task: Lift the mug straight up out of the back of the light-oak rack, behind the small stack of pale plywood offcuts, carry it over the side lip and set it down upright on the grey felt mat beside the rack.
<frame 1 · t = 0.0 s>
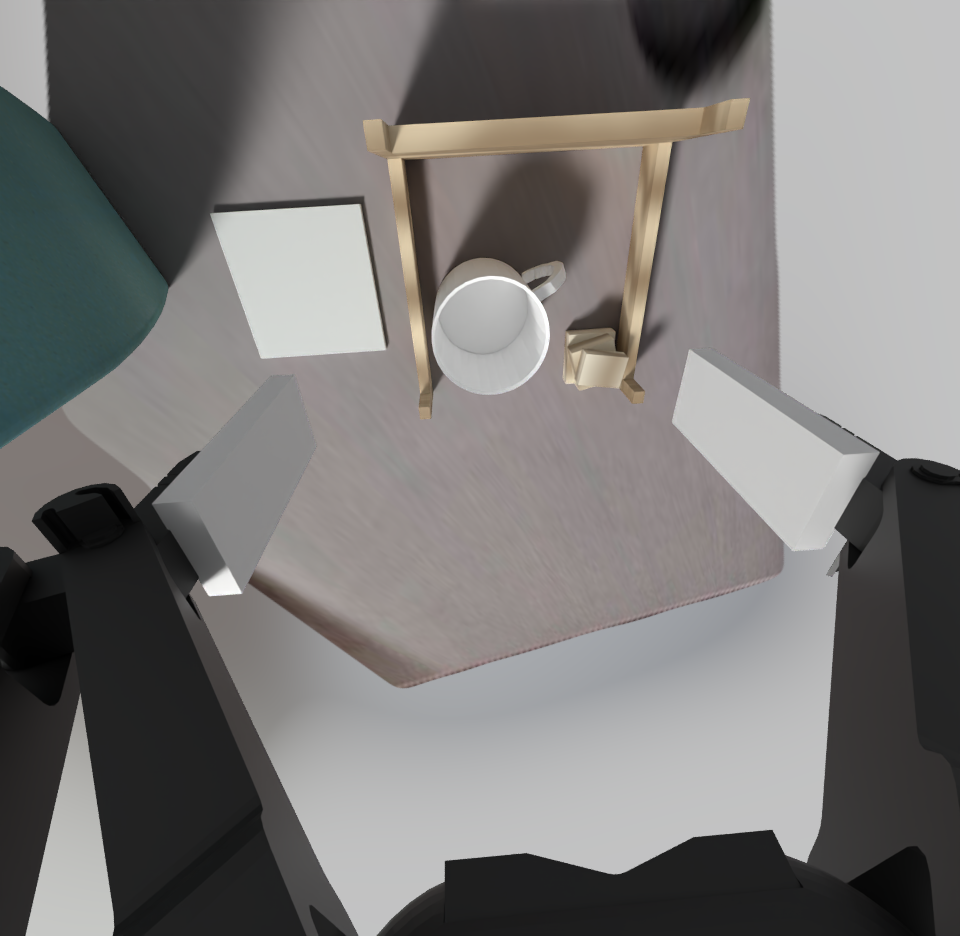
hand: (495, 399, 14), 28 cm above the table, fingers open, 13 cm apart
offcut c: (598, 365, 40), point 3 cm above the table, touching offcut b
rack: (523, 278, 38), on the table
felt mat: (308, 286, 38), on the table
offcut a: (584, 352, 43), on the table, touching offcut b
offcut b: (590, 358, 42), point 1 cm above the table, touching offcut a, offcut c
flower pot: (60, 236, 35), on the table
mug: (496, 302, 40), on the table
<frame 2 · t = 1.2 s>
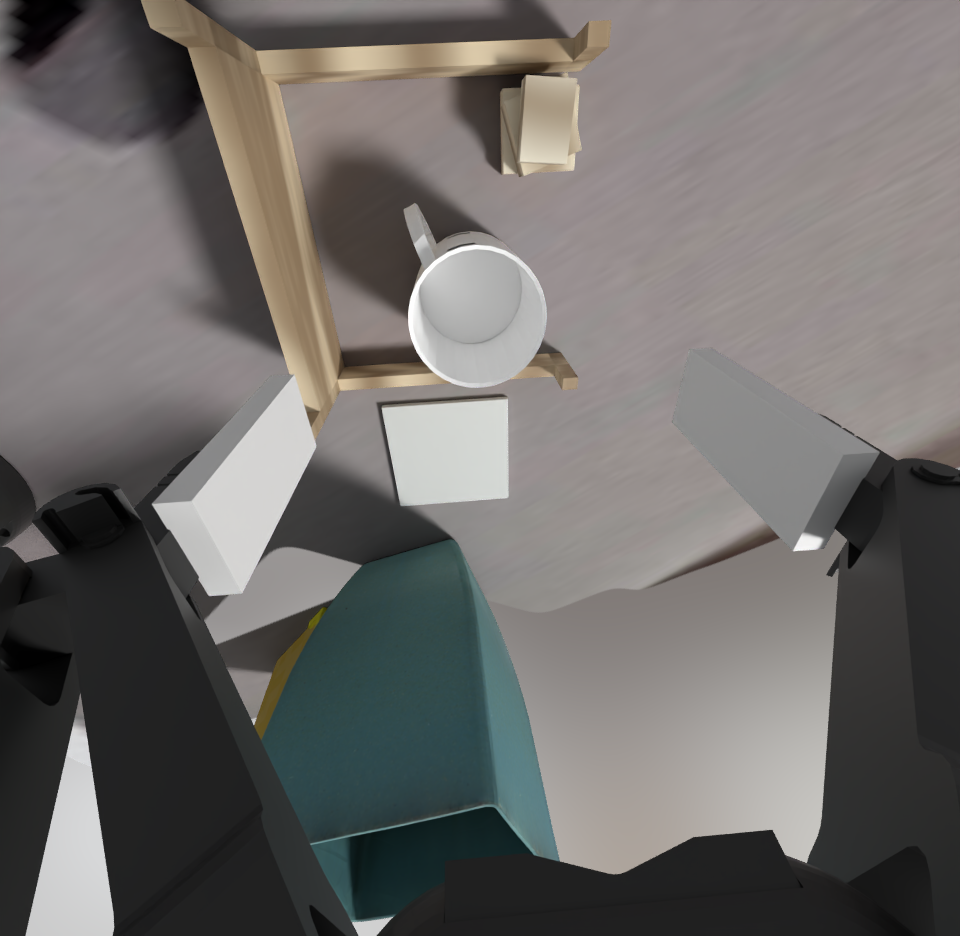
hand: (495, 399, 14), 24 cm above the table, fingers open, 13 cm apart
offcut c: (542, 124, 26), point 3 cm above the table
rack: (435, 242, 33), on the table
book: (315, 645, 61), on the table
felt mat: (450, 453, 44), on the table
offcut a: (534, 134, 30), on the table, touching offcut b
offcut b: (538, 130, 28), point 1 cm above the table, touching offcut a
flower pot: (423, 579, 54), on the table
mug: (463, 274, 34), on the table
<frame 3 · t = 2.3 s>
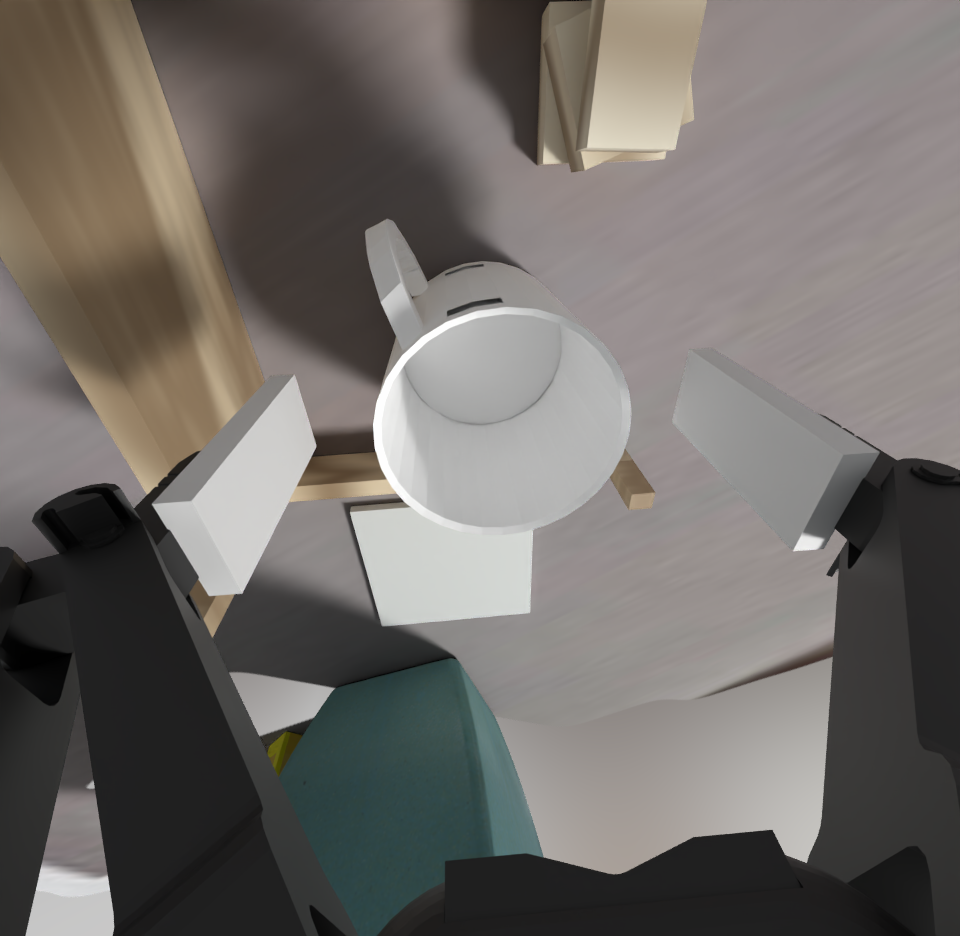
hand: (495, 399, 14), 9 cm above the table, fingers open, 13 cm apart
offcut c: (627, 77, 14), point 3 cm above the table, touching offcut b
rack: (427, 278, 20), on the table
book: (280, 767, 48), on the table
felt mat: (450, 562, 31), on the table
offcut a: (596, 96, 17), on the table, touching offcut b
offcut b: (609, 87, 16), point 1 cm above the table, touching offcut a, offcut c
flower pot: (415, 698, 42), on the table
mug: (470, 326, 22), on the table
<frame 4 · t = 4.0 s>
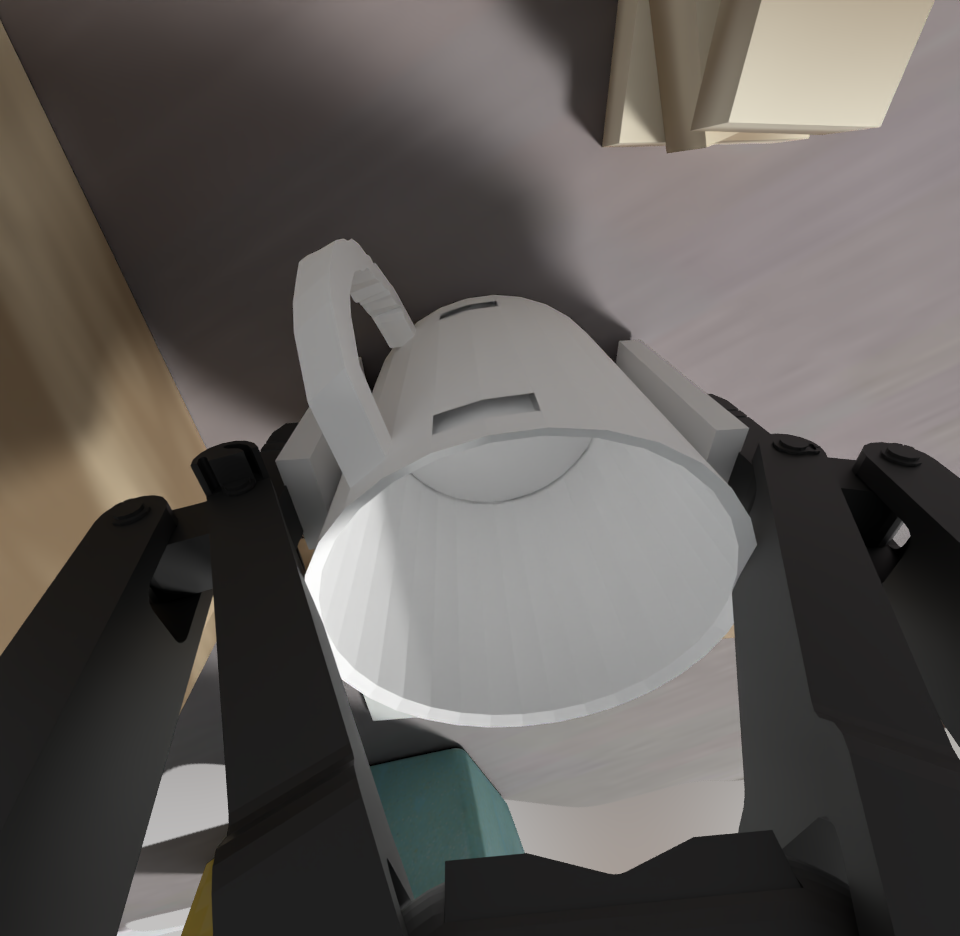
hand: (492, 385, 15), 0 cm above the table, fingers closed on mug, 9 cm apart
rack: (429, 317, 14), on the table
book: (260, 847, 42), on the table
felt mat: (456, 652, 25), on the table
offcut a: (699, 40, 11), on the table, touching offcut b
offcut b: (742, 9, 9), point 1 cm above the table, touching offcut a, offcut c
flower pot: (414, 783, 36), on the table
mug: (477, 380, 16), on the table, touching gripper
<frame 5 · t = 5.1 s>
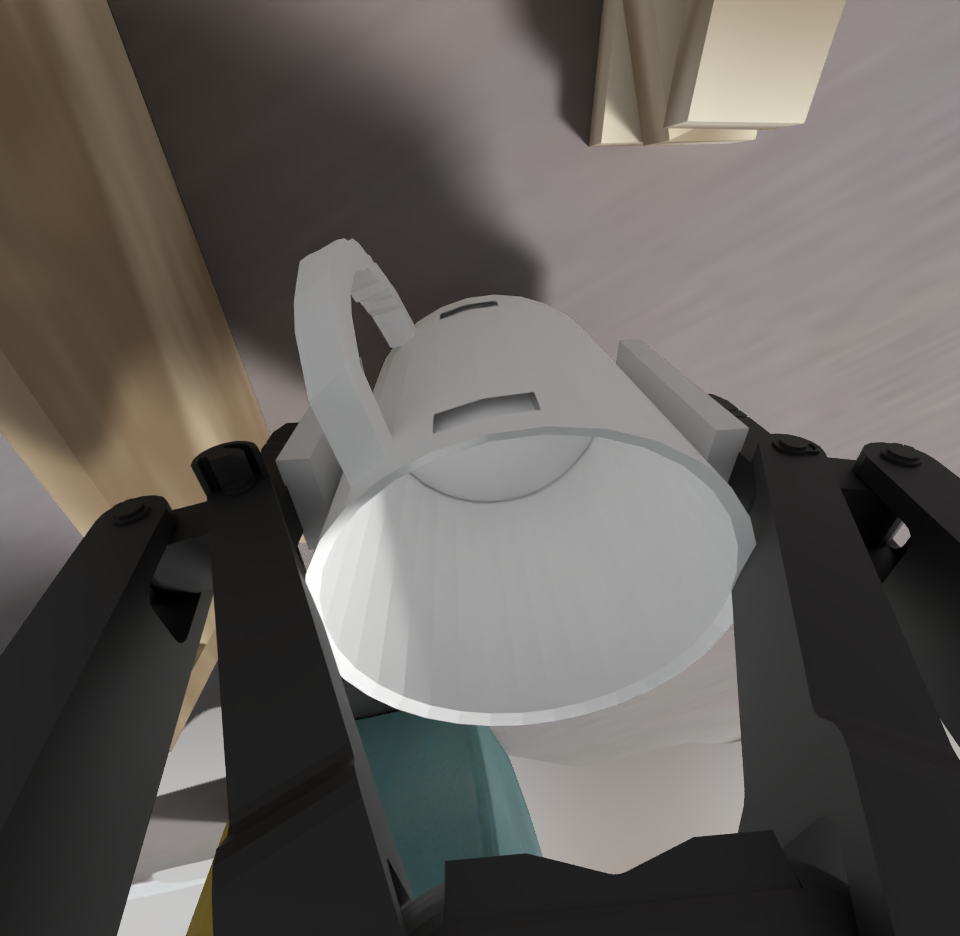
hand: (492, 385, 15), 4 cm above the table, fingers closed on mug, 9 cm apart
offcut c: (740, 27, 11), point 3 cm above the table
rack: (447, 292, 17), on the table
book: (280, 797, 45), on the table
offcut a: (668, 60, 14), on the table
offcut b: (700, 31, 12), point 1 cm above the table, touching rack
flower pot: (424, 735, 39), on the table
mug: (477, 380, 16), point 3 cm above the table, touching gripper
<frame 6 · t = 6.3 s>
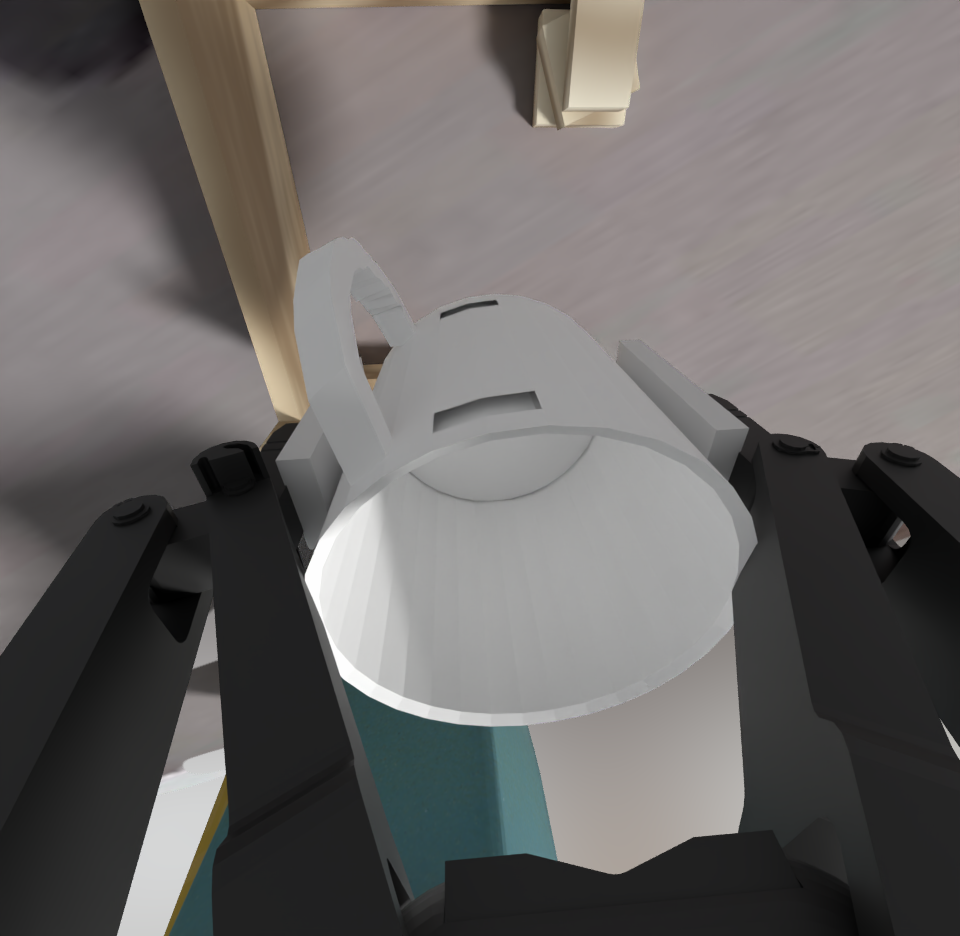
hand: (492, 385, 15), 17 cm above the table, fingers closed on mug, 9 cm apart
offcut c: (596, 59, 21), point 3 cm above the table
rack: (447, 218, 27), on the table
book: (302, 671, 55), on the table
offcut a: (576, 78, 24), on the table, touching offcut b
offcut b: (582, 68, 22), point 1 cm above the table, touching offcut a
flower pot: (423, 604, 49), on the table
mug: (477, 380, 16), point 17 cm above the table, touching gripper
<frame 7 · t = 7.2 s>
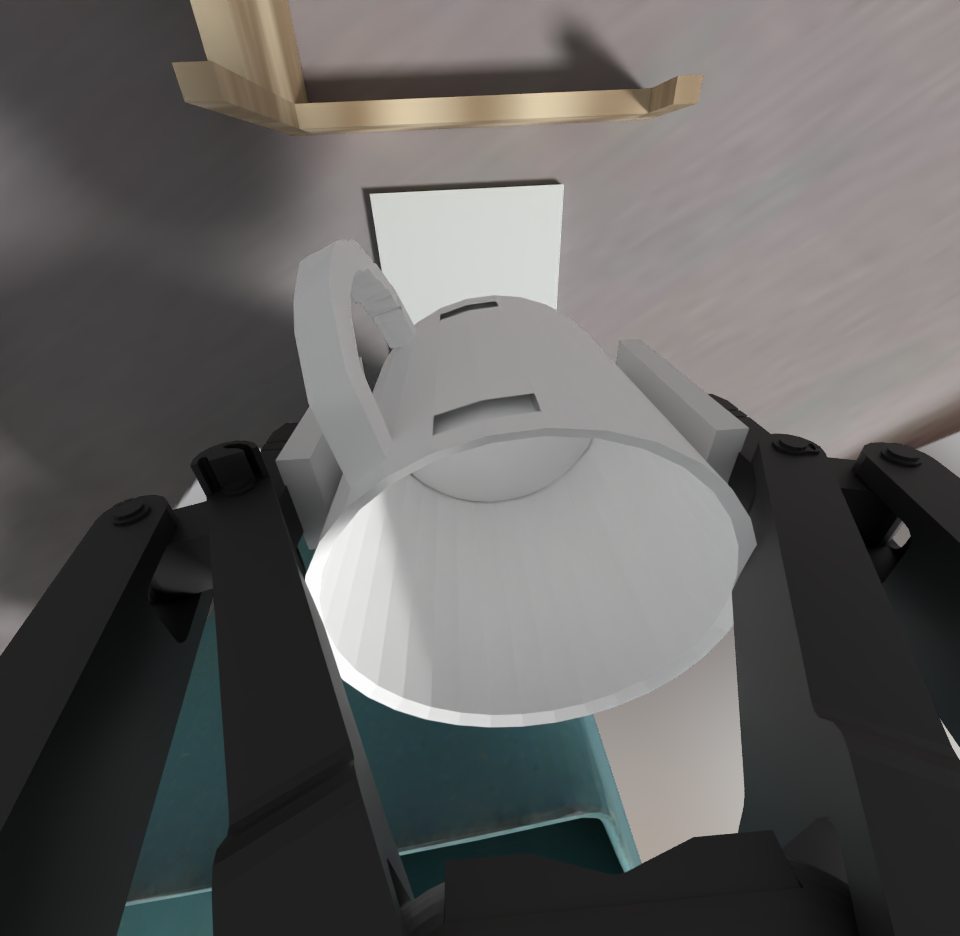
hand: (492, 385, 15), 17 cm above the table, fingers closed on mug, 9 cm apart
felt mat: (471, 290, 30), on the table
flower pot: (430, 502, 40), on the table
mug: (477, 381, 16), point 17 cm above the table, touching gripper
when the fingers open (2 cm above the table, at t = 10.3 s): mug drops 2 cm, resting on felt mat.
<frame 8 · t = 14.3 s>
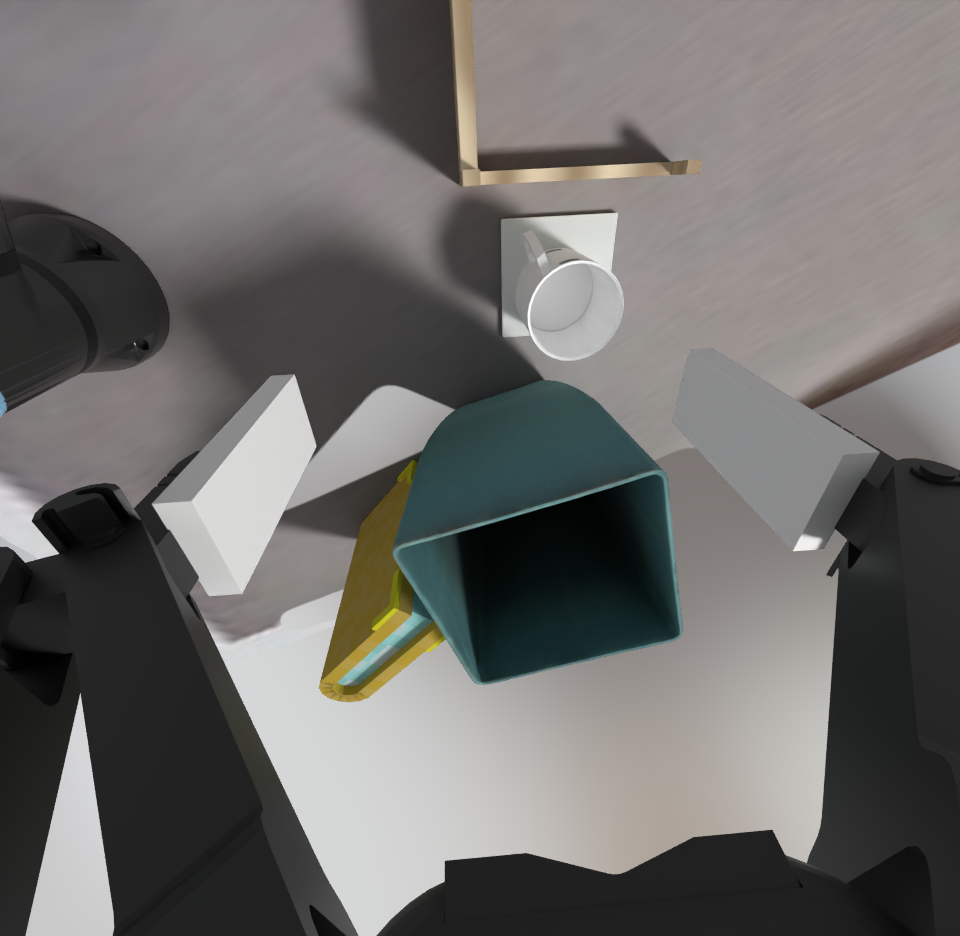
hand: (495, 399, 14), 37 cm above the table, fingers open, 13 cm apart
rack: (574, 31, 36), on the table
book: (399, 506, 64), on the table
felt mat: (555, 278, 47), on the table
flower pot: (510, 430, 57), on the table
mug: (550, 279, 46), resting on felt mat
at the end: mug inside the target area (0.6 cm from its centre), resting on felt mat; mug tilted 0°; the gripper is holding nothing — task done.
